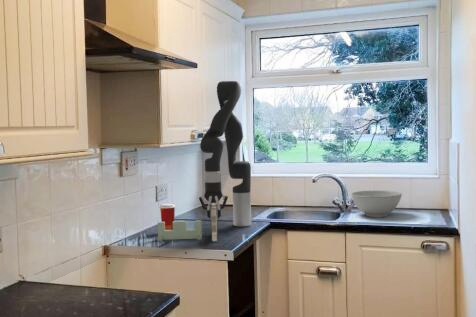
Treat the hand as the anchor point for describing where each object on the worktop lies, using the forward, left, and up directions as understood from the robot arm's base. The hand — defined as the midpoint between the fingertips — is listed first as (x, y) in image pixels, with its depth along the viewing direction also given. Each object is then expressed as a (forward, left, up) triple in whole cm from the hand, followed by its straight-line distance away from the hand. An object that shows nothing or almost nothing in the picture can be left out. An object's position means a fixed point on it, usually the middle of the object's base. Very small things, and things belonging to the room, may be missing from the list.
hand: (214, 217), depth 240 cm
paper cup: (-15, -23, -9) cm, 29 cm away
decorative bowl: (-44, +89, -9) cm, 100 cm away
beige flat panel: (0, 0, -9) cm, 9 cm away
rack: (0, -16, -9) cm, 18 cm away
